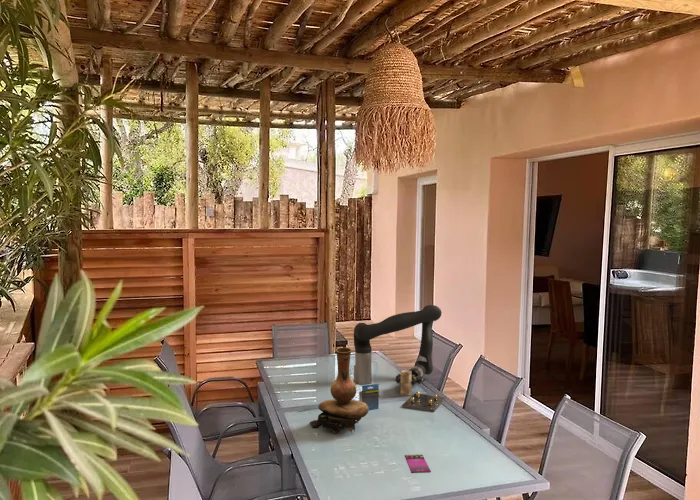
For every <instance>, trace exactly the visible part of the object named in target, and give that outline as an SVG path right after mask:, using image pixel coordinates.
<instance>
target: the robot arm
mask: <svg viewBox="0 0 700 500" xmlns="http://www.w3.org/2000/svg"><path fill="white" fill-rule="evenodd" d="M441 316H442V309H441V308H440V307H439V306H437V305H434V304H427V305H425V306H424V307H423V308H422V309H420V310H416V311H408V312H406V311H405V312H402V313H396V314H393V315H391V316H388V317H386V318H384V319H383V320H382V321H379V322H375V323H371V324H367V323H365V322H358V323H357V324H356V325H355V326H354V328H353V347H354V354H355V355H354V359H355V360H354V362H355V363H354V365H353V382H354V383H355V384H359V385H370V384H372V382H373V381H372V379H373V378H372V377H373V374H372V371H373V369H372V368H373V367H372V366H373V365H372V364H373V363H372V357H373V356H372V350H373V349H372V346H371V345H372V344H371V342H370V341H371V340H373V339H375V338H378V337H380V336H384V335H387V334H391V333H396V332H399V331H403V330H406V329H410V328H412V327H416V326H417V325H420V324H421V339H420V346H419V353H418V354H419V356H420V357H422V358H424V359H425V360H426V361H425V360H417V361H415V362H414V366H412V367H411V368H409V369H408V370H409V371H412V381H411V385H412V386H414V385H417V384H418V385H421V384H422V383H423V382H424V376H425V375H428V376H429V375H431V374H432V373H433V370H434V366H433V359H432V355H433V354H432V352H433V347H434V345H433V344H434V339H433V337H434V336H433V325H434V322H436V321H438V320H439V319H440V318H441ZM395 382H396V384H397V385H398V384H399V385H400V384H401V373H399V374H397V375H395Z"/></svg>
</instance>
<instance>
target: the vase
mask: <svg viewBox="0 0 700 500" xmlns="http://www.w3.org/2000/svg"><path fill="white" fill-rule="evenodd" d="M335 353H336V359H337V360H336V361H337V363H336V364H337V377H336V379H335V380H334V381H333V382H332V384H331V386H330V394H331V395H330V396H332V398H333V399H328V400H327V399H326V400H324V401H321V402H320V403H319V404H318V407H317V408H318V410H319V411H321V412H320V413H319V414H318V416H317V419H315V420H314V419H313V420H311V421H309V424H311V428H312V429H318V428H319V429H320V427H322V428H325V429H329V430H331V431H332V433H333V434H334V433H335V434H339V433H340V431H342V430H348V431H350V433H351V434H352V433H355V430H356V424H359V422H360V421H361V420H362V418H364V417H366V416H367V415H368V414H369V411H370V410H369V408H368V406H367V404H366V403H364V402H360V401H359V400H356V399H354V398H355V397H356V395H357V386H356V383H355V382H354V380H353V379H351V377H350V361H351V354H352V349H351V348H349V347H337V348H336V349H335ZM340 427H342V429H340Z"/></svg>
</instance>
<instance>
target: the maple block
mask: <svg viewBox="0 0 700 500" xmlns="http://www.w3.org/2000/svg"><path fill="white" fill-rule="evenodd" d="M409 370H410V369H408V370H406V369H402V371H400V374H401V382H400V396H407V395H409V396H411V394H412V395H413V393H412V391H413V390H412V389H413V388H412V387H413V385H411V381H412V371H409Z"/></svg>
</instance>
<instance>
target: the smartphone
mask: <svg viewBox="0 0 700 500" xmlns="http://www.w3.org/2000/svg"><path fill="white" fill-rule="evenodd" d="M404 458H405V460H406V464H407V466H408V468H409V471H410V472H411V473H412V474H413V473H414V474H416V473H418V474H419V473H422V474H423V473H431V472H432V471H431V469H430V466H429V465H428V462H427V461H426V458H425V457H424V455H423V454H404Z"/></svg>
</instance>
